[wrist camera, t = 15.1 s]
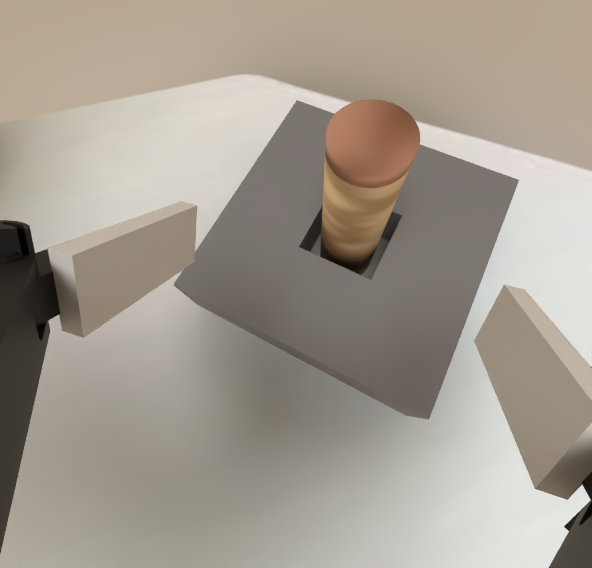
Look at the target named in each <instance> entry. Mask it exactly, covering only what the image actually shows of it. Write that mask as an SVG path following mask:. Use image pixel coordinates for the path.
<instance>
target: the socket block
mask: <svg viewBox="0 0 592 568" xmlns="http://www.w3.org/2000/svg"><path fill="white" fill-rule="evenodd" d="M334 115H335V114H334V113H331V112H328V111H325V110H322V109H320V108H317V107H314V106H311V105H309V104H306V103H303V102H300V101H296V103H295V104H294V105H293V107H292V108H291V110H290V111H289V113H288V114H287V116H286V117H285V119H284V120H283V122H282V123H281V125H280V126H279V128H278V129H277V131H276V132H275V134H274V135H273V137H272V138H271V140H270V141H269V143H268V144H267V146H266V147H265V149H264V150H263V152H262V153H261V155H260V156H259V158H258V159H257V161H256V162H255V164H254V165H253V167H252V168H251V170H250V171H249V173H248V174H247V176H246V177H245V179H244V180H243V182H242V183H241V185H240V186H239V188H238V189H237V191H236V192H235V194H234V195H233V197H232V198H231V200H230V201H229V203H228V204H227V206H226V207H225V209H224V210H223V212H222V213H221V215H220V216H219V217H218V219H217V220H216V222H215V223H214V225H213V226H212V228H211V229H210V231H209V232H208V234H207V235H206V237H205V238H204V240H203V241H202V243H201V244H200V246H199V247H198V249H197V250H196V252H195V262H193V263H192V264H190V265H189V266H187V267H186V268H184V270H183V271H182V273H181V274H180V276H179V277H178V279H177V280H176V282H175V283H174V286H175V287H176V288H178V289H179V290H180V291H181V292H183V293H184V294H185V295H186V296H188V297H189V298H190V299H191V300H192V301H194V302H195V303H196V304H197V305H199V306H201V307H203V308H205V309H207V310H209V311H211V312H212V313H214V314H216V315H218V316H220V317H222V318H224V319H226V320H228V321H229V322H231V323H233V324H235V325H237V326H239V327H241V328H243V329H244V330H246V331H248V332H250V333H252V334H254V335H256V336H258V337H260V338H261V339H263V340H265V341H267V342H269V343H271V344H273V345H275V346H276V347H278V348H280V349H282V350H284V351H286V352H288V353H290V354H292V355H293V356H295V357H297V358H299V359H301V360H303V361H305V362H307V363H308V364H310V365H312V366H314V367H316V368H318V369H320V370H322V371H324V372H325V373H327V374H329V375H331V376H333V377H335V378H337V379H339V380H340V381H342V382H344V383H346V384H348V385H350V386H352V387H354V388H356V389H357V390H359V391H361V392H363V393H365V394H367V395H369V396H371V397H372V398H374V399H376V400H378V401H380V402H382V403H384V404H386V405H388V406H389V407H391V408H393V409H395V410H397V411H399V412H401V413H403V414H404V415H407V416H412V417H418V418H424V419H429V418H430V415H431V412H432V410H433V407H434V404H435V402H436V399H437V396H438V394H439V391H440V388H441V386H442V383H443V380H444V378H445V375H446V372H447V370H448V367H449V364H450V362H451V359H452V356H453V354H454V351H455V349H456V346H457V343H458V341H459V338H460V335H461V333H462V330H463V327H464V325H465V322H466V319H467V317H468V314H469V311H470V309H471V306H472V303H473V301H474V298H475V295H476V293H477V290H478V288H479V285H480V282H481V280H482V277H483V274H484V272H485V269H486V266H487V264H488V261H489V258H490V256H491V253H492V250H493V248H494V245H495V242H496V240H497V237H498V234H499V232H500V229H501V226H502V224H503V221H504V219H505V216H506V213H507V211H508V208H509V205H510V203H511V200H512V197H513V195H514V192H515V189H516V187H517V184H518V181H519V180H517V179H514V178H512V177H509V176H506V175H503V174H501V173H498V172H495V171H492V170H489V169H487V168H484V167H481V166H478V165H475V164H473V163H470V162H467V161H464V160H462V159H459V158H456V157H453V156H450V155H448V154H445V153H442V152H439V151H437V150H434V149H431V148H428V147H425V146H423V145H420V144H419V148H418V150H417V153H416V155H415V157H414V160H413V162H412V164H411V167H410V169H409V172H408V174H407V176H406V179H405V181H404V183H403V186H402V188H401V191H400V193H399V195H398V198H397V200H396V203H395V205H394V207H393V210H392V212H391V214H390V217H389V219H388V222H387V224H386V226H385V229H384V231H383V233H382V236H381V238H380V241H379V243H378V245H377V248H376V250H375V252H374V255H373V257H372V260H371V262H370V264H369V267H368V268H367V270H366V271H365V272H364V273H363V274H362V275H359V274H357V273H355V272H352V271H350V270H348V269H346V268H344V267H342V266H339V265H337V264H335V263H333V262H331V261H328V260H326V259H324V258H322V257H320V249H321V228H322V207H323V185H324V164H325V143H326V130H327V126H328V124H329V122H330V120H331V118H332V117H333V116H334Z"/></svg>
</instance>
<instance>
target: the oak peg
mask: <svg viewBox="0 0 592 568" xmlns="http://www.w3.org/2000/svg"><path fill="white" fill-rule="evenodd" d="M419 144H420V132H419V128H418V126H417V124H416V122H415V120H414V119H413V118H412V116H411V115H410V114H409V113H408V112H407V111H405V110H404V109H402V108H401V107H399V106H397V105H395V104H393V103H390V102H386V101H382V100H361V101H357V102H354V103H351V104H349V105H347V106H345V107H343V108H342V109H340V110H339V111H338V112H337V113H336V114H335V115H334V116H333V117H332V118H331V120H330V122H329V124H328V126H327V130H326V143H325V164H324V185H323V207H322V228H321V249H320V257H322V258H324V259H326V260H328V261H331V262H333V263H335V264H337V265H339V266H342V267H344V268H346V269H348V270H350V271H352V272H355V273H357V274H359V275H362V274H363V273H364V272H365V271H366V270H367V268H368V267H369V264H370V262H371V260H372V257H373V255H374V252H375V250H376V248H377V245H378V243H379V241H380V238H381V236H382V233H383V231H384V229H385V226H386V224H387V222H388V219H389V217H390V214H391V212H392V210H393V207H394V205H395V203H396V200H397V198H398V195H399V193H400V191H401V188H402V186H403V183H404V181H405V179H406V176H407V174H408V172H409V169H410V167H411V164H412V162H413V160H414V157H415V155H416V153H417V150H418V148H419Z"/></svg>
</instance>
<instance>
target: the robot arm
mask: <svg viewBox="0 0 592 568" xmlns="http://www.w3.org/2000/svg"><path fill="white" fill-rule="evenodd" d="M196 214H197V206H196V205H193V204H189V203H185V202H179V203H176V204H173V205H170V206H167V207H164V208H162V209H159V210H156V211H153V212H150V213H147V214H144V215H142V216H139V217H136V218H133V219H130V220H127V221H124V222H122V223H119V224H116V225H113V226H110V227H107V228H104V229H102V230H99V231H96V232H93V233H90V234H87V235H85V236H82V237H79V238H76V239H73V240H70V241H67V242H65V243H62V244H59V245H56V246H53V247H50V248H48V249H46V250H44V251H41V252H38V253H35V251H34V246H33V241H32V236H31V231H30V226H29V225H27V224H25V223H22V222H17V221H6V220H1V221H0V553H1V548H2V544H3V539H4V535H5V530H6V526H7V521H8V517H9V512H10V508H11V504H12V499H13V495H14V490H15V486H16V481H17V477H18V472H19V468H20V463H21V459H22V454H23V450H24V445H25V441H26V437H27V432H28V428H29V423H30V419H31V414H32V410H33V405H34V401H35V396H36V392H37V387H38V383H39V378H40V374H41V370H42V365H43V361H44V356H45V352H46V347H47V343H48V338H49V334H50V327H49V322H48V320H50V319H52V318H53V317H55V316H57V315H60V321H61V327H62V331H65V332H68V333H71V334H74V335H77V336H80V337H83V338H84V337H85V336H87V335H88V334H90V333H91V332H93V331H94V330H95V329H97V328H98V327H100V326H101V325H103V324H104V323H106V322H107V321H109V320H110V319H111V318H113V317H114V316H116V315H117V314H119V313H120V312H122V311H123V310H125V309H126V308H128V307H129V306H130V305H132V304H133V303H135V302H136V301H138V300H139V299H141V298H142V297H144V296H145V295H147V294H148V293H149V292H151V291H152V290H154V289H155V288H157V287H158V286H160V285H161V284H163V283H164V282H165V281H167V280H168V279H170V278H171V277H173V276H174V275H176V274H177V273H179V272H180V271H182V270H183V269H184V268H186V267H187V266H189V265H190V264H192V263H193V262H195V238H196ZM474 341H475V344H476V346H477V349H478V351H479V353H480V356H481V358H482V361H483V363H484V366H485V368H486V371H487V373H488V375H489V378H490V380H491V383H492V385H493V388H494V390H495V392H496V395H497V397H498V400H499V402H500V405H501V407H502V410H503V412H504V414H505V417H506V419H507V422H508V424H509V427H510V429H511V431H512V434H513V436H514V439H515V441H516V444H517V446H518V448H519V451H520V453H521V456H522V458H523V461H524V463H525V466H526V468H527V470H528V473H529V475H530V478H531V480H532V483H533V485H534V487H535V489H537V490H540V491H543V492H546V493H549V494H552V495H555V496H558V497H561V498H564V499H567V500H568V499H569V498H570V497H571V495H572V494H573V493H574V492H575V491H576V490H577V489H578V488H579V487H580V486H581V485H583V486H584V488H585V490H586V492H587V494H588V496H589V497H590V499H591V501H590V502H589V503H588V504H587V505H586V506H585V507H583V508H582V509H581V510H580V511H579V512H578V513H577V514H576V515H575V516H574V517H573V518H572V519H571V520H570V521H569V522H568V523H567V524H566V525H565V526H564V527H565V528H566V529H567V530H568V531H569V533H568V534H567V536H566V538H565V540H564V542H563V543H562V545H561V547H560V549H559V550H558V552H557V554H556V556H555V558H554V559H553V561H552V563H551V565H550V566H549V568H592V367H591V366H590V365H589V364H588V363H587V362H586V361H585V360H584V358H583V357H582V356H581V355H580V354H579V353H578V351H577V350H576V349H575V348H574V347H573V346H572V344H571V343H570V342H569V341H568V340H567V339H566V337H565V336H564V335H563V334H562V333H561V331H560V330H559V329H558V328H557V327H556V326H555V324H554V323H553V322H552V321H551V320H550V319H549V317H548V316H547V315H546V314H545V313H544V312H543V310H542V309H541V308H540V307H539V306H538V305H537V303H536V302H535V301H534V300H533V299H532V298H531V296H530V295H529V294H528V293H527V292H526V291H525V290H524V289H520V288H516V287H512V286H508V285H504V286H503V288H502V290H501V292H500V293H499V295H498V297H497V299H496V301H495V303H494V305H493V307H492V308H491V310H490V312H489V314H488V316H487V318H486V320H485V322H484V323H483V325H482V327H481V329H480V331H479V333H478V335H477V337H476V338H475V340H474Z"/></svg>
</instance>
